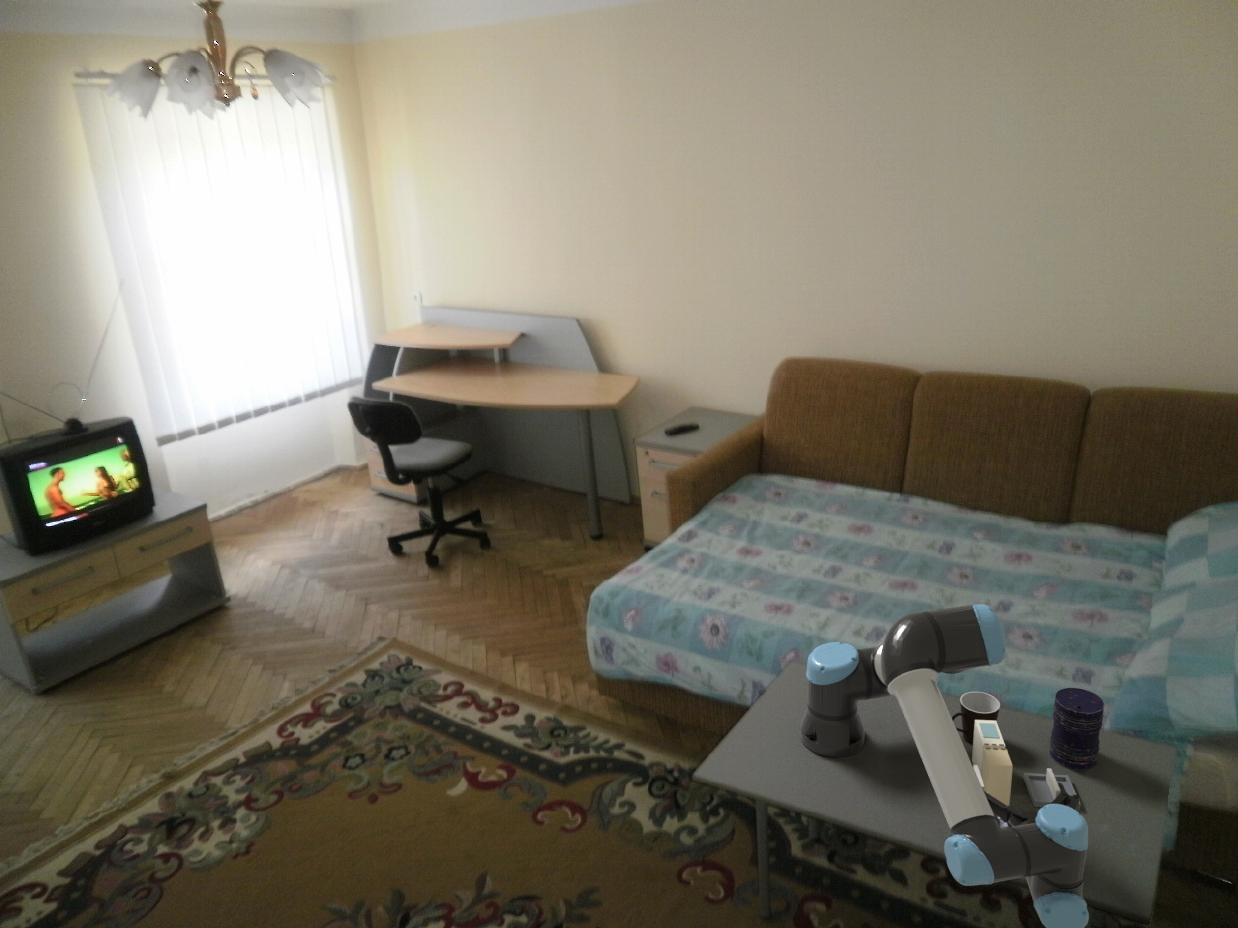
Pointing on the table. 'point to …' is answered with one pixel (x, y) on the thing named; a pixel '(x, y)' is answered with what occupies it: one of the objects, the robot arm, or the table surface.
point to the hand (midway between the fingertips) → (1011, 772)
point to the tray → (1045, 788)
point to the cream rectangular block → (997, 774)
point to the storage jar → (1076, 728)
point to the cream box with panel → (985, 740)
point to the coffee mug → (976, 712)
